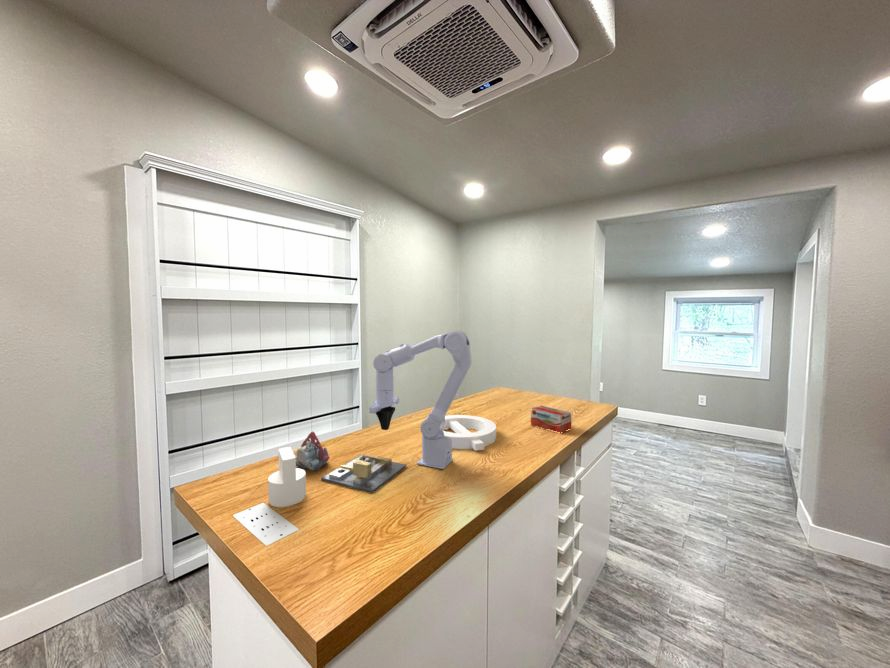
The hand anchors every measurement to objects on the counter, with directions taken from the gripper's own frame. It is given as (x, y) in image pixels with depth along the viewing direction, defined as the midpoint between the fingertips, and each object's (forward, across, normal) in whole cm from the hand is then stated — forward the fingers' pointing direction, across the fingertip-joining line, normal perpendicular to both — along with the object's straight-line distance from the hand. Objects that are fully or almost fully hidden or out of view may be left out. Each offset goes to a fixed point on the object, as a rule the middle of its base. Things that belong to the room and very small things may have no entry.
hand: (385, 429), depth 116 cm
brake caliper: (+10, +15, -18) cm, 25 cm away
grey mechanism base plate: (+10, +12, +1) cm, 16 cm away
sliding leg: (+8, +17, +1) cm, 19 cm away
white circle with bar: (+11, -31, +15) cm, 36 cm away
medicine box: (+10, -56, +46) cm, 74 cm away
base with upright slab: (+10, +32, -9) cm, 35 cm away
